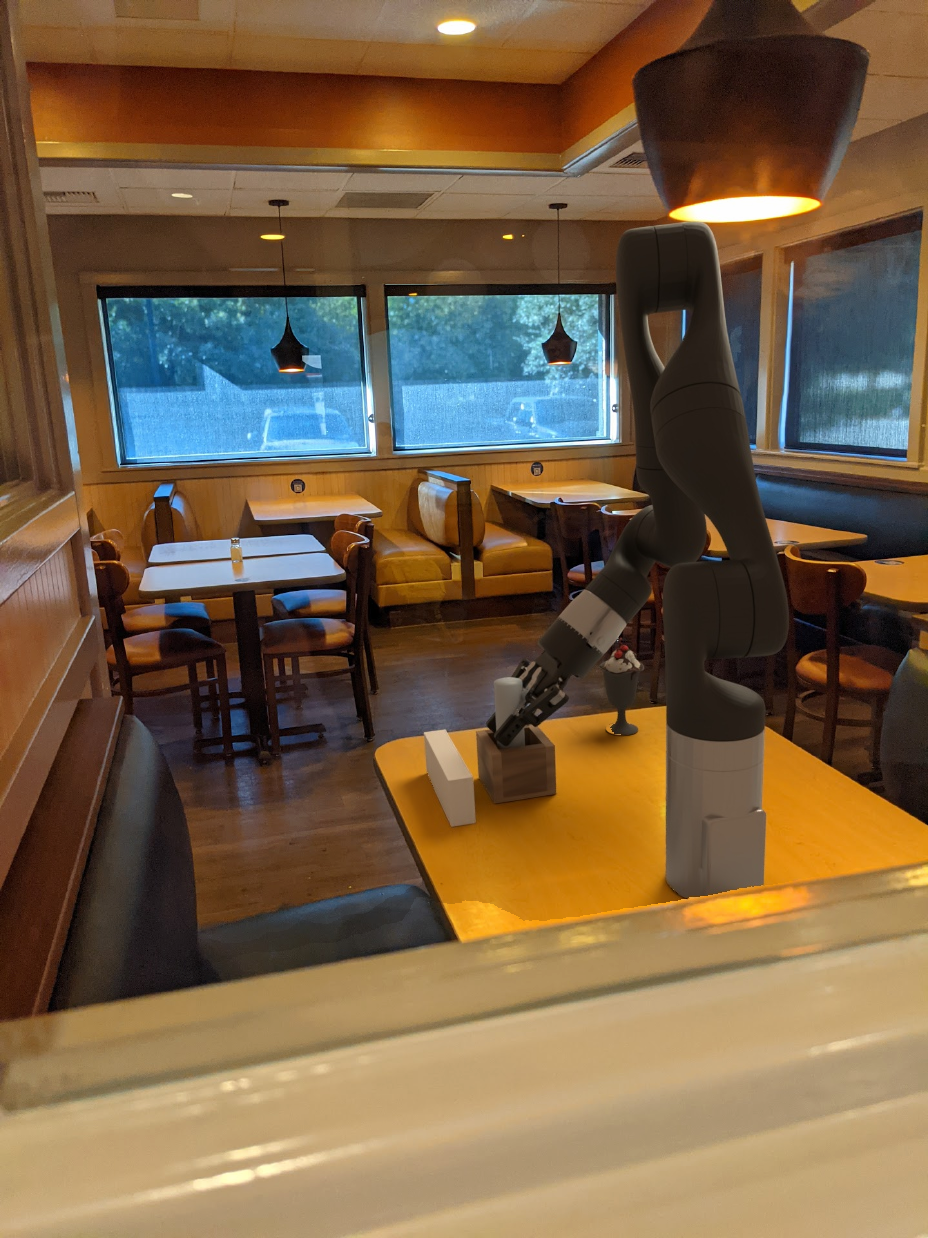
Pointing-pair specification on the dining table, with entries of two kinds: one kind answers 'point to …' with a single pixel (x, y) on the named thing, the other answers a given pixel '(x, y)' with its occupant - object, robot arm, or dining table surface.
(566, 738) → the dining table surface
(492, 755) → the open wooden box
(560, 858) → the dining table surface
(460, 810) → the rail
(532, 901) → the dining table surface
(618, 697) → the sundae
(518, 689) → the gray cylinder
